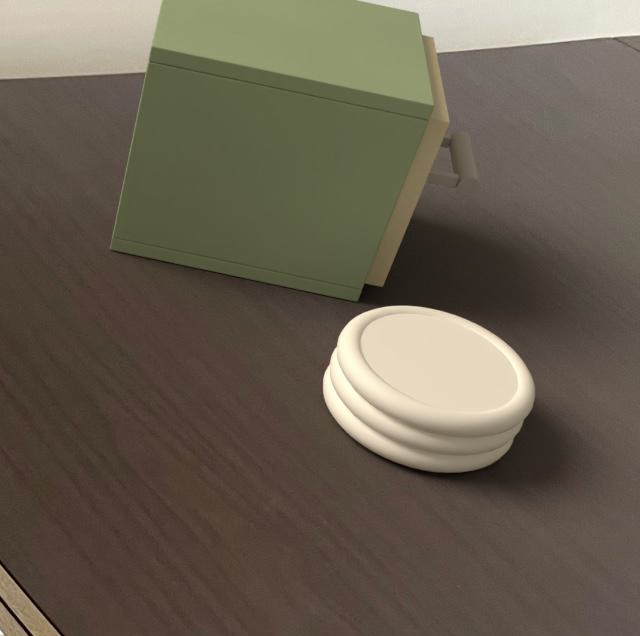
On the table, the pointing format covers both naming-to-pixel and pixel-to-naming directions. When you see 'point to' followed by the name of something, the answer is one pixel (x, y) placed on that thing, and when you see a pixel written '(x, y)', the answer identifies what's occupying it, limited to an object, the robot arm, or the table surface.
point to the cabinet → (274, 139)
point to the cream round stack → (427, 389)
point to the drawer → (427, 171)
